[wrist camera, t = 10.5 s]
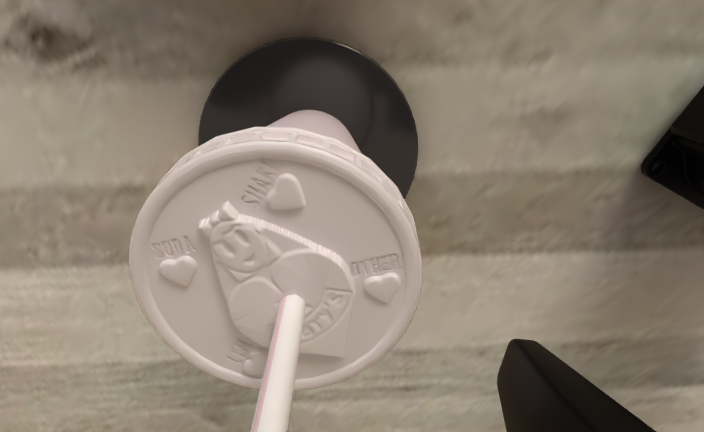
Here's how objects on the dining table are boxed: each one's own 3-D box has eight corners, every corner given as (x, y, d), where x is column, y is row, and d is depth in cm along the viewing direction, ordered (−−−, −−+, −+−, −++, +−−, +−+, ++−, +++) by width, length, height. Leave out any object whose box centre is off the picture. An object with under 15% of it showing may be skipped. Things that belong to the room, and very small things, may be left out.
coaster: (457, 105, 18) (460, 108, 18) (354, 274, 22) (354, 280, 21) (251, -10, 16) (248, -11, 16) (173, 193, 20) (168, 198, 19)
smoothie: (298, 250, 20) (216, 655, 7) (198, 138, 18) (-159, 437, 5) (418, 170, 19) (569, 505, 6) (324, 37, 17) (248, 117, 4)
